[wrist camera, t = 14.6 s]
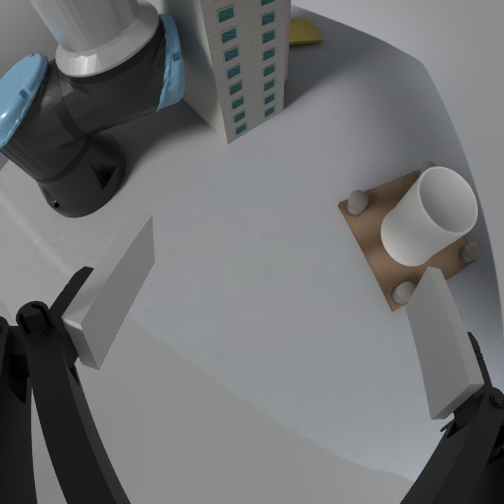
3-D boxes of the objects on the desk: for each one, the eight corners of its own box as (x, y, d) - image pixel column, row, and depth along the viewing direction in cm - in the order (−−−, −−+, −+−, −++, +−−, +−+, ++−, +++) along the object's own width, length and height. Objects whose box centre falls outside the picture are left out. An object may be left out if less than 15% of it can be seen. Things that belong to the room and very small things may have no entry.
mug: (431, 192, 42) (469, 149, 31) (458, 243, 40) (506, 211, 28) (369, 220, 41) (400, 176, 30) (398, 277, 39) (442, 250, 28)
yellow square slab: (308, 24, 56) (309, 17, 54) (323, 46, 54) (324, 38, 52) (269, 29, 56) (269, 21, 54) (282, 51, 53) (282, 43, 51)
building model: (307, 96, 49) (324, -67, 20) (227, 144, 47) (191, -40, 18) (235, 42, 54) (219, -89, 26) (164, 80, 52) (116, -57, 23)
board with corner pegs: (338, 205, 43) (343, 193, 39) (421, 170, 44) (431, 157, 41) (392, 311, 39) (403, 307, 35) (472, 261, 40) (487, 253, 36)
